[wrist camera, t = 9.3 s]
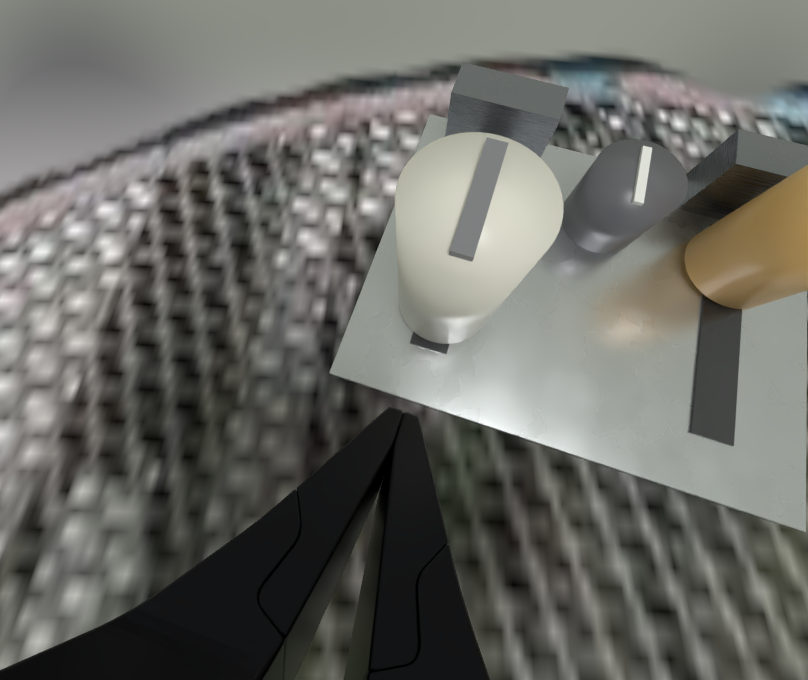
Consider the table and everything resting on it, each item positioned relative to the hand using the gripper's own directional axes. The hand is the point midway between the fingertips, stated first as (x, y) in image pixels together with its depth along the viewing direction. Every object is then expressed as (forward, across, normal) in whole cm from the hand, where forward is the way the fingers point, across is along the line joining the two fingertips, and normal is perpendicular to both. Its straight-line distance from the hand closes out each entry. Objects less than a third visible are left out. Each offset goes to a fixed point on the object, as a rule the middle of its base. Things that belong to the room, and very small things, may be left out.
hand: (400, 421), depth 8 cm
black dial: (+13, -7, -5) cm, 16 cm away
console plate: (+11, -7, -2) cm, 13 cm away
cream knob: (+8, 0, -1) cm, 8 cm away
